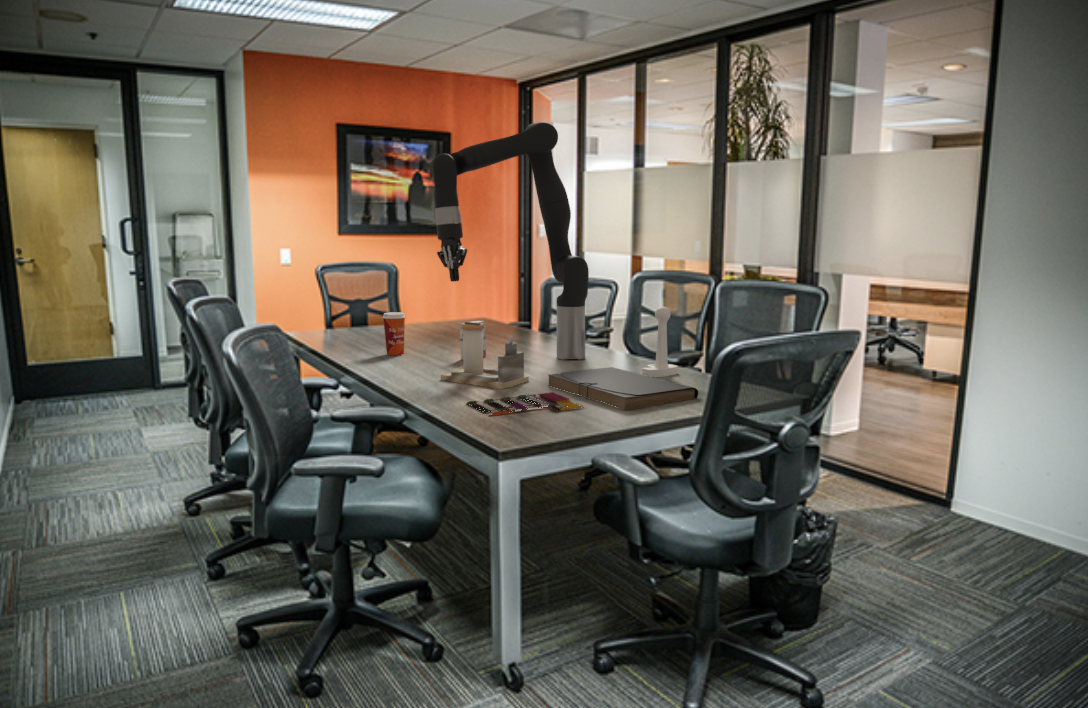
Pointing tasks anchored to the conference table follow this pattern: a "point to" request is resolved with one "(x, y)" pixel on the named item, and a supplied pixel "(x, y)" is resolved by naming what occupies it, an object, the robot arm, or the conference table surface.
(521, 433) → the conference table surface
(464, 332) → the lidded white jar
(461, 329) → the ink box
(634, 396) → the brown book
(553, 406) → the colourful patterned flat panel
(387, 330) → the paper cup
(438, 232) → the robot arm
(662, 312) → the joystick
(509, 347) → the potentiometer
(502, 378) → the maple mount
